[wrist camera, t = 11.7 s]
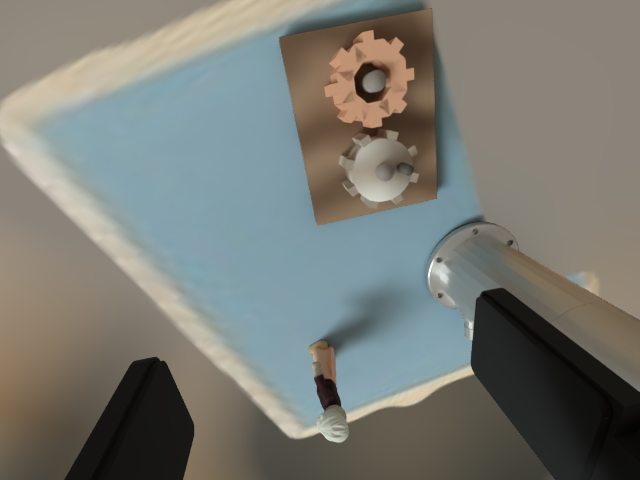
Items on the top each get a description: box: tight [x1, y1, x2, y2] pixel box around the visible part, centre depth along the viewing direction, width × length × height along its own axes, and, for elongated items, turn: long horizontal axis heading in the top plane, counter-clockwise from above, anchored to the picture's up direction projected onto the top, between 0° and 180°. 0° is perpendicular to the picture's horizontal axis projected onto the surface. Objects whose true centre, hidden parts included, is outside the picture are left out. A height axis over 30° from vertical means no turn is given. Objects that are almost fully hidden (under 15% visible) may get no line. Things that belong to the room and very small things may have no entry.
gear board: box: [279, 8, 437, 225], centre depth 29 cm, size 18×14×6 cm
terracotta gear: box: [324, 30, 414, 128], centre depth 28 cm, size 7×7×3 cm
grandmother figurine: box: [309, 340, 349, 442], centre depth 37 cm, size 8×4×13 cm, turn 29°
